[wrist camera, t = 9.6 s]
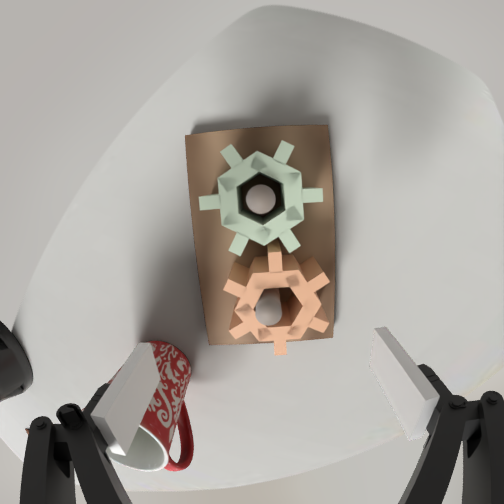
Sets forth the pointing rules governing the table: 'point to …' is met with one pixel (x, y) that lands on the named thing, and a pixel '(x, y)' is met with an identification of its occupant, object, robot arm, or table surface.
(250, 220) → the gear
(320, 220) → the gear board
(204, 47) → the table surface
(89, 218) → the table surface
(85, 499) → the robot arm
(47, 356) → the table surface
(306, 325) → the gear
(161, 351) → the mug
